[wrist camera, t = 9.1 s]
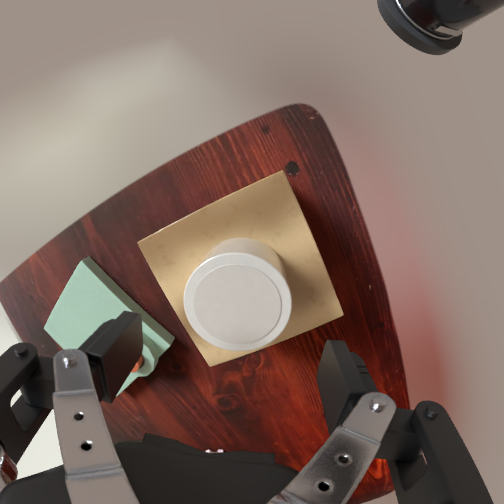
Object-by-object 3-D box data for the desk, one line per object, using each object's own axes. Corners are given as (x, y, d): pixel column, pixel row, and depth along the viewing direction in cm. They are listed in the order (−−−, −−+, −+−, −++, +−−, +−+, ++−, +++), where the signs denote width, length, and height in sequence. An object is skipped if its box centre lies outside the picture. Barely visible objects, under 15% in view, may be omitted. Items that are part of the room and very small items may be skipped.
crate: (176, 221, 29) (136, 242, 19) (275, 173, 27) (283, 169, 18) (224, 312, 31) (209, 367, 21) (319, 272, 30) (344, 315, 20)
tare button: (128, 340, 29) (123, 348, 28) (147, 357, 29) (143, 365, 28) (117, 353, 30) (112, 360, 28) (135, 369, 30) (131, 376, 29)
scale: (89, 255, 30) (73, 264, 27) (177, 339, 32) (169, 355, 29) (50, 322, 33) (37, 333, 30) (123, 390, 35) (114, 405, 32)
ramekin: (201, 231, 19) (185, 245, 15) (293, 243, 19) (301, 261, 15) (195, 314, 20) (181, 343, 16) (278, 325, 20) (282, 357, 16)
